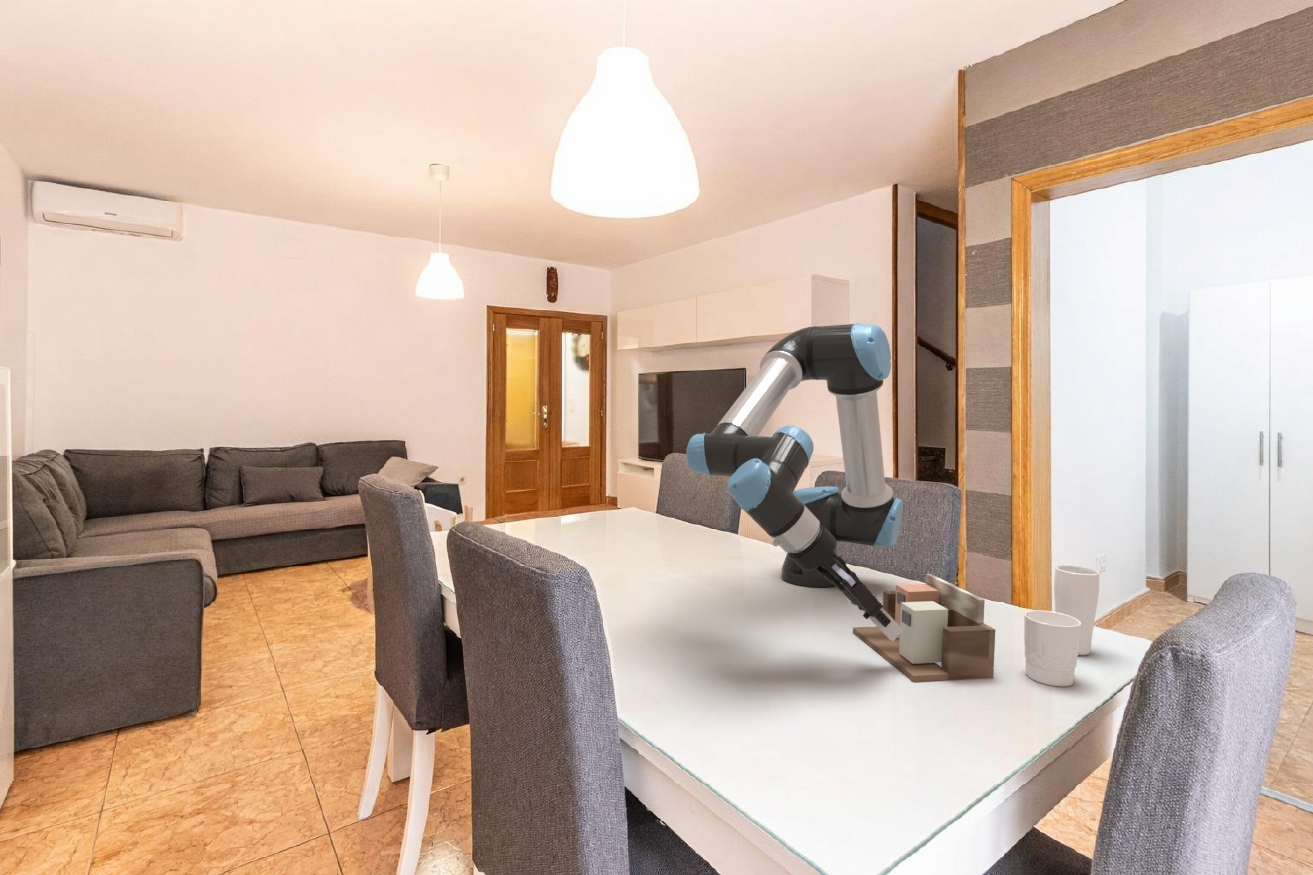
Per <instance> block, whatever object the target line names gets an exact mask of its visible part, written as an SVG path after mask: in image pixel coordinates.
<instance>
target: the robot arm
mask: <svg viewBox="0 0 1313 875" xmlns="http://www.w3.org/2000/svg"><path fill="white" fill-rule="evenodd" d="M889 343H890V342H889V339H888V337H887V335H886V333H885V331H884V330H883V328H882V327H881V326H879V325H878V324H875V323H857V322H856V323H852V324H851V323H850V324H849V323H848V324H835V325H833V324H832V325H823V326H820V325H819V326H807V327H803V328H800V329H798V330H796V331H794V332H792V333H790V334H788V335H786V336H784V337H783V338H782V339H781V340H779V341H778V342H777V343H775V344H774V345H773V346H772V347H771V348H770V349H768V351H767V352H766V353H765V354H764V356H763V357H762V359H761V361H760V363H759V370H758V371H757V373H755V375H754V376H753V378H752V379H751V380H750V381H749V383H748V385H747V386H746V387H745V388H744V390H743V391H742V392H741V394H740V395H739V396H738V397H737V399H736V400H735V401H734V402H733V404H732V405H731V407H730V408H729V409H728V411H727V412H726V413H725V415H724V416H723V417H722V418H721V420H720V421H719V422H718V423H717V425H716V426H715V427H714V428H713V430H712V431H711V433H707V432H703V433H696V434H694V435H692V437H690V439H689V441H688V443H687V447H686V456H685V457H686V461H687V463H688V464H687V465H688V467H689V469H690V470H691V471H692V472H694V473H695V474H696V473H697V474H700V475H701V474H702V475H708V476H711V477H713V476H714V477H715V476H716V477H728V478H729V479H728V481H727V484H726V489H727V492H728V494H729V495H730V496H731V497H732V499H733V500H734V501H735V502H736V503H737V505H738V506H739V507H740V509H741V510H742V511H744V512H745V513H746V514H747V515H748V516H749V517H750V518H751V519H752V520H753V521H754V522H755V523H756V524H757V525H758V526H759V527H760V528H761V529H762V530H764V532H765V533H766V534H767V535H768V536H769V537H771V539H772V540H773V541H772V543H771V544H772V545H773V546H774V547H778V546H779V547H780V548H781V549H782V550H783V551H784V552H785V553H786V555H785V559H784V561H783V563H782V567H781V578H782V580H783V581H786V582H788V583H790V584H794V585H797V586H802V587H803V586H804V587H811V588H813V587H814V588H827V587H828V588H830V587H831V588H832V587H836V588H837V589H838V591H839V590H840V592H841V593H842V594H843V595H845V597H846V598H848V600H849V601H850V602H851V604H852V605H855V606H857V607H858V609H859V610H860V611H862V612H863V615H862V617H863V618H865V619H866V620H868V619H869V620H870V621H871V623H872V624H874V625H875V627H878V628H879V629H880V630H881V631H882V632H883V633H884V634H885V635H886V636H887V638H888V639H890V640H891V641H892V642H893V641H894V640H895V639H896V638H897V637H898V638H899V637H900V634H901V633H902V632H903V631H904V630H903V629H902V628H901V627H900V626H899V625H898V624H897V622H896V621H895V620H894V619H893V618H892V617H891V616H890V615H889V614H888V613H887V612H886V611H885V610H884V609H883V603H881V602H880V601H879V600H878V599H877V597H876V596H875V595H873V593H872V591H870V590H869V589H868V588H867V587H866V586H865V584H864V583H863V582H862V580H861V579H860V578H859V577H858V575H857V574H856V572H855V571H853V570H851V569H850V568H849V567H848V566H847V563H846V562H845V560H844V559H842V557H841V556H839V552H838V542H840V543H847V544H849V543H850V544H857V545H864V546H872V547H873V548H876V547H880V548H891V547H892V546H893V545H894V544H896V541H897V539H898V537H899V534H900V530H901V525H902V521H903V520H902V519H903V514H904V503H903V500H902V499H900V498H898V497H895V498H894V491H893V489H892V487H891V486H890V485H888V484H887V483H886V478H885V468H884V458H883V446H882V436H881V424H880V412H879V402H878V391H879V390H880V389H881V388H882V386H883V385H884V380H885V379H888V377H889V376H890V373H891V368H892V362H891V360H892V355H891V354H892V353H891V348H890V344H889ZM812 380H813V381H821V380H822V381H826V386H827V390H828V392H829V393H830V394H832V395H833V396H834V397H835V402H836V408H837V417H838V425H839V434H840V442H841V443H840V444H841V450H842V451H841V452H842V458H843V460H842V461H843V468H844V476H845V483H846V484H845V485H846V486H845V487H844V488H843V489H842V491H841V493H840V489H839V487H838V486H831V485H830V486H827V485H826V486H813V487H805V488H804V487H803V488H798V489H796V488H797V485H798V483H799V482H800V481H801V478H802V477H803V474H804V472H805V470H806V469H807V468H808V467H809V464H810V460H811V458H812V456H813V452H814V442H813V439H812V438H811V436H810V435H809V434H808V433H807V432H806V431H805V429H802V428H801V427H798V426H794V425H785V426H781V427H780V428H778V429H777V430H776V431H775V432H774V433H772V434H773V435H772V436H761V435H760V434H761V432H762V431H763V429H764V428H765V426H766V425H767V423H768V422H769V420H770V419H771V418H772V416H773V415H774V414H775V411H776V410H777V408H779V406H780V404H781V403H782V401H783V400H784V398H785V397H786V396H787V394H788V393H789V391H791V390H793V389H795V388H797V387H798V386H799V384H800V383H801V382H804V381H812ZM795 489H796V490H795Z"/></svg>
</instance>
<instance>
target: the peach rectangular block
mask: <svg viewBox="0 0 1313 875" xmlns="http://www.w3.org/2000/svg"><path fill="white" fill-rule="evenodd" d="M895 591H896V604H895V621H896V622H897V624H898V625H899V626H900V613H901V602H925V601H934V602H936V603H937V604H939V591H938V590H936V589H935V588H933V587H931V586H929V585H927V584H926V583H920V584H919V583H915V584H912V583H911V584H895Z"/></svg>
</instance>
